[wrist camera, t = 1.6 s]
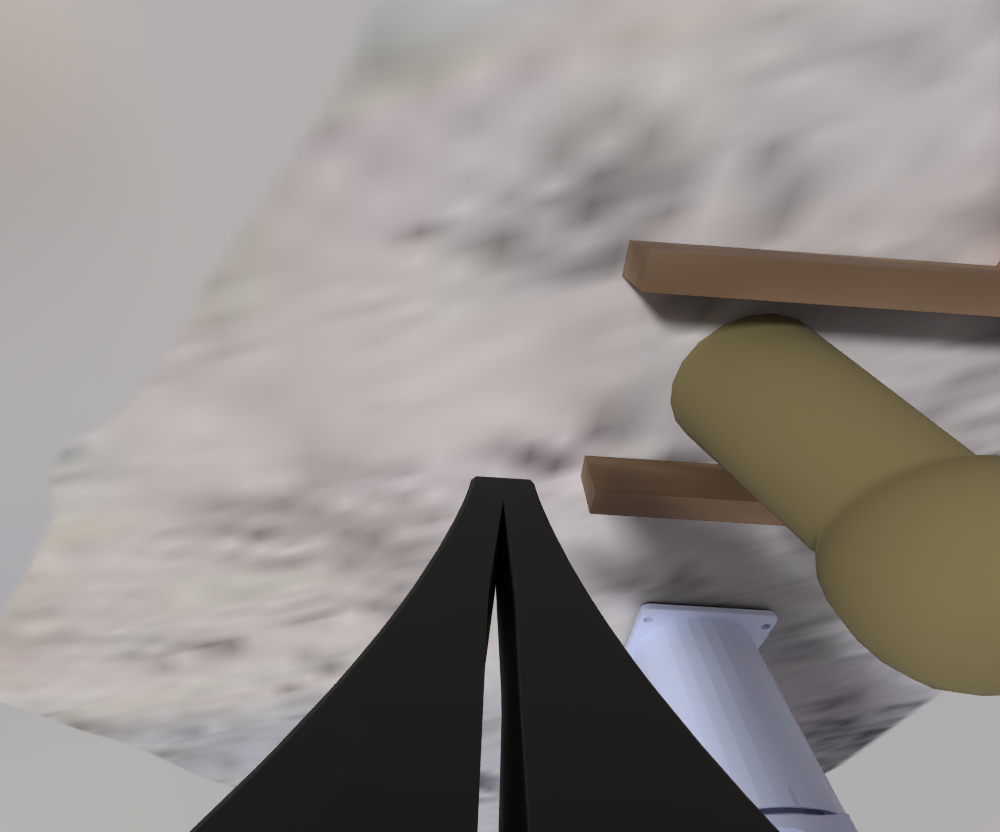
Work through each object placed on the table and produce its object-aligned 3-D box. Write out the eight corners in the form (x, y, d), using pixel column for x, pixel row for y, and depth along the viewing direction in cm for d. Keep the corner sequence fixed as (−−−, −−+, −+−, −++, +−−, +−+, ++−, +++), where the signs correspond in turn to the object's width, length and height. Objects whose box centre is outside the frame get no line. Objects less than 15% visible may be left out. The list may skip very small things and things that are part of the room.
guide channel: (984, 533, 20) (1082, 604, 17) (574, 507, 20) (587, 574, 17) (1277, 219, 13) (1552, 231, 10) (643, 173, 13) (692, 168, 9)
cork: (859, 346, 16) (1407, 596, 6) (758, 462, 18) (1023, 756, 9) (729, 289, 15) (1138, 483, 5) (643, 421, 18) (804, 704, 8)
